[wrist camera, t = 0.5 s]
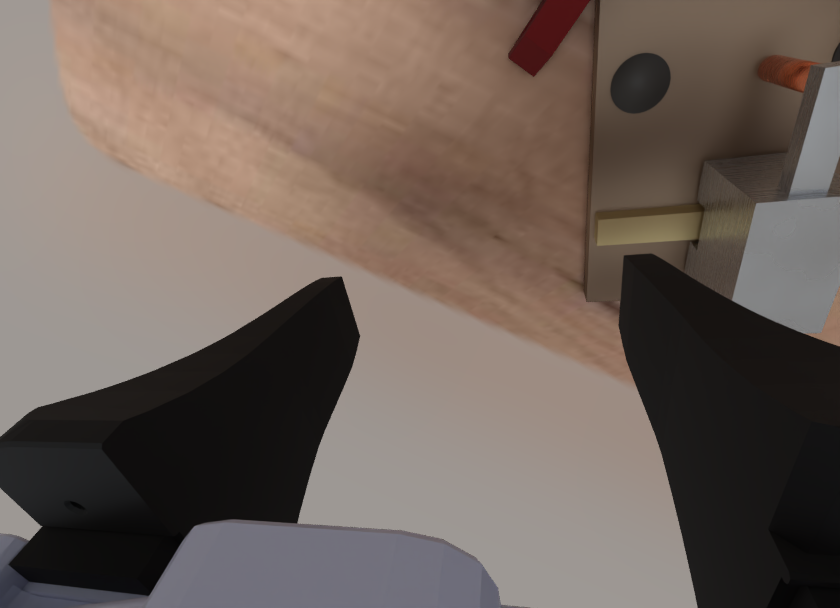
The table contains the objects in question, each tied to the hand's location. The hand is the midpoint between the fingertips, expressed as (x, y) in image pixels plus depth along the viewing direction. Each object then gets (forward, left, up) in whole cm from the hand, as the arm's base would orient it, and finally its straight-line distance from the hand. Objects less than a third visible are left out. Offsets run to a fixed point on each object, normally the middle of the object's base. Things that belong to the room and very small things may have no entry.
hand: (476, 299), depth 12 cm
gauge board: (-9, 0, -10) cm, 14 cm away
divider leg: (-10, +1, -9) cm, 13 cm away
